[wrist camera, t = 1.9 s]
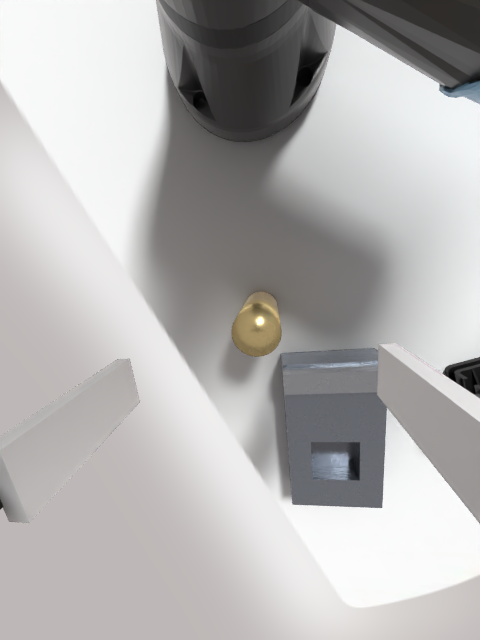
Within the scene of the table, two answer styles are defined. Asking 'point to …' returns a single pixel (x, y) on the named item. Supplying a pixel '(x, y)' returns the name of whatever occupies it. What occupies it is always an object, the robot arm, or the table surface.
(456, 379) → the end cap
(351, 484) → the jig
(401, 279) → the table surface
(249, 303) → the brass cylinder rod
